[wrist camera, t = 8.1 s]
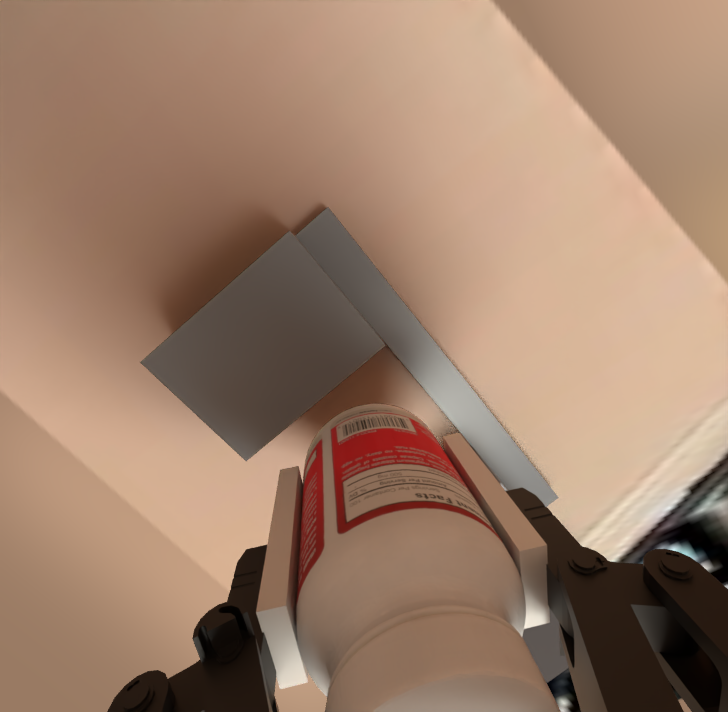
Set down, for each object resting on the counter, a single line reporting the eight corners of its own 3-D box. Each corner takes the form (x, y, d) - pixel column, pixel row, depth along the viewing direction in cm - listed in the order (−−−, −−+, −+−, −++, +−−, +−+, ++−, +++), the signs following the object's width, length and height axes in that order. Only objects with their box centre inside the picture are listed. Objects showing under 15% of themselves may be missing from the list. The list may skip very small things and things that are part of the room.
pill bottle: (365, 540, 19) (424, 909, 8) (275, 461, 17) (208, 797, 7) (462, 460, 18) (660, 748, 8) (380, 370, 17) (488, 580, 6)
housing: (176, 341, 19) (140, 362, 15) (327, 208, 19) (328, 195, 15) (424, 585, 25) (443, 645, 21) (550, 489, 24) (594, 534, 20)
